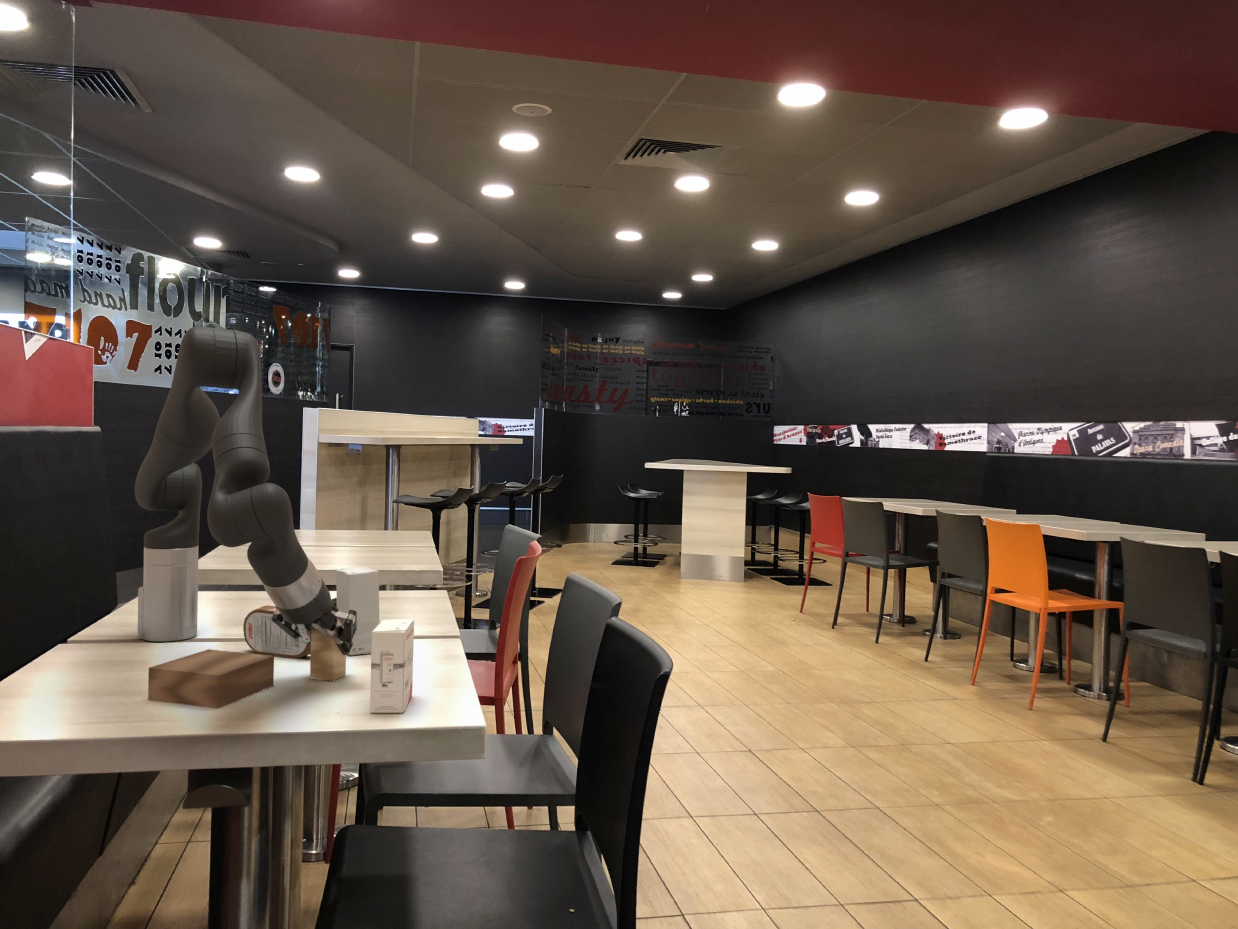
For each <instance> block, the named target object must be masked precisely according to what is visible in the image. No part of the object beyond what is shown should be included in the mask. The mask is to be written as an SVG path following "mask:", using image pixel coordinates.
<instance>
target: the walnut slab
mask: <svg viewBox="0 0 1238 929" xmlns="http://www.w3.org/2000/svg"><path fill="white" fill-rule="evenodd" d="M274 670H275V656H273V655H266V654H260V653H251V652H249V653H248V652H238V651H229V650H228V651H227V650H218V649H211V648H208V649H205V650H202V651H199V652H196V653H193V654H192V653H191V654H188V655H185V656H182V657H179V658H176V659H172V660H169V661H166V662H163V663H160V664H157V665H153V666H150V667H148V682H147V683H148V690H147V694H148V696H147V700H149V701H154V702H162V703H171V704H179V705H180V704H181V705H189V706H198V707H206V708H214V709H220V708H221V709H222V708H223V707H225V706H228V705H230V704H232V703H235V702H237V700H238V701H240V700H243V699H245V698H247V696H248V697H250V696H253V695H255V694H256V693H260V692H262V691H264V690H263V689H265V688H267V689H269V688H268V687H270V686H272V687H274V686H273V685H274V676H275V675H274V674H275V671H274ZM270 688H271V687H270ZM261 690H262V691H261ZM265 690H266V689H265ZM259 691H260V692H259ZM254 693H255V694H254ZM242 698H243V699H242Z"/></svg>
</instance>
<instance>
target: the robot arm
mask: <svg viewBox="0 0 1238 929" xmlns="http://www.w3.org/2000/svg"><path fill="white" fill-rule="evenodd" d="M175 362H176V363H175V368H174V372H173V375H172V376H173V377H172V381H171V385H170V388H169V389H170V390H169V392H168V393H167V397H166V400H165V402H164V404H163V408H162V410H161V412H160V415H159V418H158V421H157V425H156V427H155V431H154V432H155V433H154V435H153V439H152V442H151V445H150V448H149V450H148V452H147V454H146V455H145V457H144V460H143V461H142V463H141V464H140V467H139V470H138V472H137V475H136V478H135V483H134V496H135V499H136V503H138V506H140V507H141V508H142V509H144V510H146V511H152V512H153V511H154V512H164V511H165V512H166V511H168V512H169V511H170V512H171V511H178V515H177V516H176V517H175V518H174V519H173V520H171V521H170V522H168V523H167V524H164V525H161V526H159V527H156V528H153V529H150V530H147V531H146V532H145V533H144V537H143V575H142V576H143V580H142V581H143V585H142V586H139V588H138V589H137V590H138V591H137V638H138V639H142V640H144V641H149V642H173V641H174V642H175V641H182V640H187V639H191V638H194V637H196V636H197V635H198V615H199V614H198V612H199V609H198V607H199V606H198V604H199V603H198V602H199V545H200V544H199V542H200V539H199V538H200V517H201V515H200V514H201V505H202V504H201V503H202V491H203V490H202V489H203V479H202V476H203V475H202V471H201V469H200V466H199V465H198V464H197V463H195V462H198V461H199V460H200V459H202V458H203V457H204V456H206V455H207V453H208V452H210V450H211V451H212V458H213V462H214V470H215V471H214V472H215V475H214V480H213V486H212V490H211V493H210V497H209V502H208V506H207V512H206V513H207V514H206V515H207V526H208V529H209V532H210V534H211V536H212V537H213V539H214V540H215V541H216V542H217V543H218V544H220V545H222V546H224V547H226V548H238V547H241V546H244V545H247V544H249V543H250V544H249V546H248V547H247V551H246V555H247V560H248V563H249V565H250V566H251V568H252V570H253V571H254V573H255V574H256V575H257V577H258V578H259V579H260V581H261V583H262V584H263V587H264V590H265V592H266V594H267V596H268V597H269V598H270V600H271V601H272V603H273V604H274V606H276V607H277V608H276V610H275V612H274V614H273V616H272V618H271V620H272V621H273V622H274V623H275V624H276V625H278V626H279V627H280V628H281V629H282V630H284V631H285V632H286V633H287V634H288V635H290V636H291V637H292V638H294V639H298V638H299V637H302V638H303V640H304V641H306V642H308V643H309V645H310V646H311V630H319V631H320V632H321V633H322V634H323V635H324V636H325V637H327V638H330V637H331V638H332V639H333V640H334V641H335V642H336V644H337V646H338V648H339V649H340V651H341V652H342V654H343V655H346V656H349V655H348V653H349V652H350V651H351V648H352V646H353V642H352V639H353V637H354V634H355V632H356V629H357V612H356V611H355V610H349V612H348V613H343V612H339V610H338V608H337V607H336V606H334V605H333V604H332V602H331V599H332V597H331V592H330V589H329V588H328V586H327V585H326V582H324V580H323V578H322V576H321V574H320V572H319V570H318V569H317V568H316V566H315V565H314V563H313V562H312V561H311V559H310V558H309V557H308V555H307V554H306V552H305V551H304V549H303V547H302V545H301V543H300V542H299V539H298V537H297V535H296V532H295V527H294V520H293V519H294V518H293V509H292V508H293V507H292V503H291V499H290V496H289V495H288V493H287V491H286V490H285V489H284V488H283V487H281V486H279V485H278V484H276V483H272V482H267V481H268V480H269V477H270V475H271V468H270V461H269V457H268V452H267V446H266V441H265V436H264V432H263V431H264V430H263V390H262V389H263V388H262V385H263V384H262V361H261V353H260V347H259V344H258V342H257V338H255V337H254V336H253V334H251V333H248V332H244V331H239V330H234V329H227V328H220V327H219V328H218V327H212V326H211V327H210V326H193V327H190V328H189V329H188V330H186V332H185V333H184V335H183V336H182V339H181V342H180V345H179V348H178V354H177V358H176V361H175ZM203 387H205V388H213V389H214V388H215V389H225V390H238V394H237V397H236V398H235V399H234V402H233V403H231V406H230V407H229V408H228V409H227V410H226V411H225V412H224V413H223V415H222V416H221V417H220V413H219V410H218V408H217V407H216V405H215V403H214V402H213V401H212V399H211V398H210V397H209V396H208V394H207V393H205V392H204V390H203V389H202V388H203ZM292 624H294V625H295V626H296V627H295V629H294V630H293V629H292ZM337 630H339V632H338V634H337Z"/></svg>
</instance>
